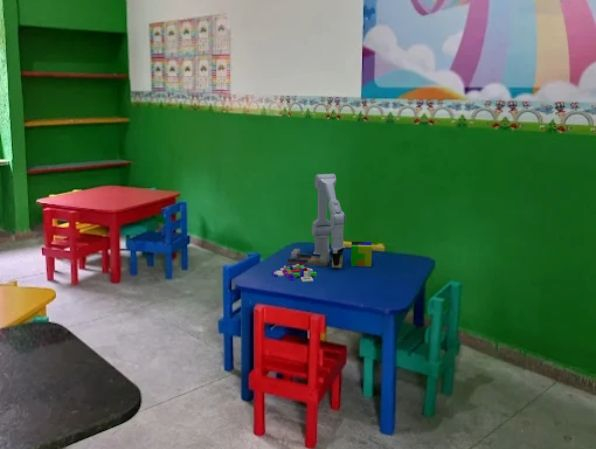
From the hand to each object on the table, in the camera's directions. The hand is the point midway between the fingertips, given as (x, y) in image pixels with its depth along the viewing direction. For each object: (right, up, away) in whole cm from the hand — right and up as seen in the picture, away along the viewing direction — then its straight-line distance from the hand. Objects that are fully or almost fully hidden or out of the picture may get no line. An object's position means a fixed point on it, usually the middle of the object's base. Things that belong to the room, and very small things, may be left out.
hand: (337, 263), depth 307 cm
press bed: (-14, 0, +7) cm, 16 cm away
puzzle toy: (+12, 0, +6) cm, 14 cm away
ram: (-21, +2, +8) cm, 22 cm away
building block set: (-22, -5, -11) cm, 25 cm away
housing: (0, -1, 0) cm, 2 cm away
